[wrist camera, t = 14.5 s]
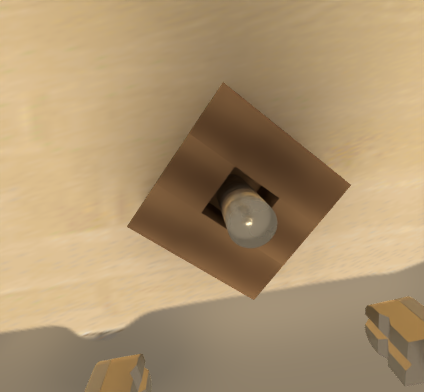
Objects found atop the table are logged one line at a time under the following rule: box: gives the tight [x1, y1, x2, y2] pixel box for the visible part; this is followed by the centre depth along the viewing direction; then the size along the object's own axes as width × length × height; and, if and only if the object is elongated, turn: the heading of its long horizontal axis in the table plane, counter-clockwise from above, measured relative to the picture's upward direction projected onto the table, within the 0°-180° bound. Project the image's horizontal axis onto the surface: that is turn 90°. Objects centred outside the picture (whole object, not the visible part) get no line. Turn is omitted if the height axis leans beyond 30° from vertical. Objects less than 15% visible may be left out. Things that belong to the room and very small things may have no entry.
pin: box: [216, 174, 277, 248], centre depth 24 cm, size 4×4×11 cm
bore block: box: [127, 83, 351, 300], centre depth 28 cm, size 16×16×8 cm
